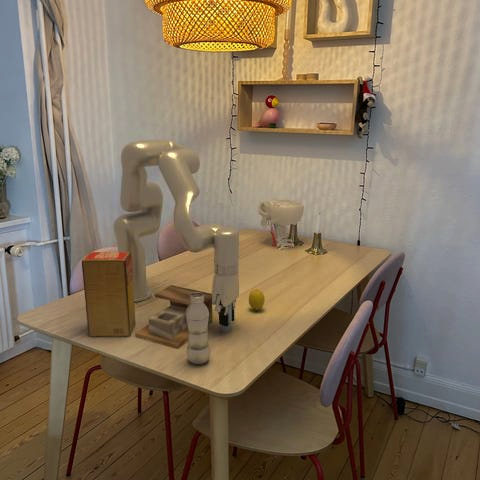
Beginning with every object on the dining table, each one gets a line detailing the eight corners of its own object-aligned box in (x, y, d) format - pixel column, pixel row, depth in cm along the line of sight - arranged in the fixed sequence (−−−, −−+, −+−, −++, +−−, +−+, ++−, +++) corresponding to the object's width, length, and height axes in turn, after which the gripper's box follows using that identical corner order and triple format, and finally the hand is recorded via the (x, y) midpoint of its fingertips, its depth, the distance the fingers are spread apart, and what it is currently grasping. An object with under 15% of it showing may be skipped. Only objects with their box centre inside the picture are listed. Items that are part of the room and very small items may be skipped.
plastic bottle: (198, 370, 124) (196, 301, 119) (181, 361, 129) (179, 294, 123) (215, 360, 129) (214, 294, 123) (198, 352, 133) (197, 288, 128)
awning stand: (171, 311, 159) (170, 285, 157) (213, 322, 152) (213, 294, 149) (134, 336, 142) (132, 306, 140) (179, 348, 135) (178, 317, 132)
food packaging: (136, 323, 151) (132, 250, 144) (130, 337, 142) (125, 260, 135) (95, 323, 151) (89, 250, 144) (87, 337, 141) (79, 260, 135)
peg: (219, 331, 146) (219, 296, 143) (224, 327, 149) (224, 292, 145) (228, 333, 145) (228, 298, 141) (233, 329, 147) (233, 294, 144)
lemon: (254, 305, 165) (255, 284, 163) (267, 309, 162) (267, 288, 159) (245, 310, 161) (245, 289, 159) (257, 315, 157) (258, 293, 155)
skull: (307, 245, 237) (310, 202, 231) (293, 255, 222) (295, 208, 215) (264, 238, 249) (265, 197, 243) (248, 247, 233) (248, 203, 227)
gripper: (228, 259, 150) (228, 310, 155) (201, 274, 135) (203, 330, 141) (249, 262, 146) (248, 315, 151) (224, 278, 132) (224, 336, 137)
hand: (226, 322), depth 146 cm, fingers closed on peg, 3 cm apart
